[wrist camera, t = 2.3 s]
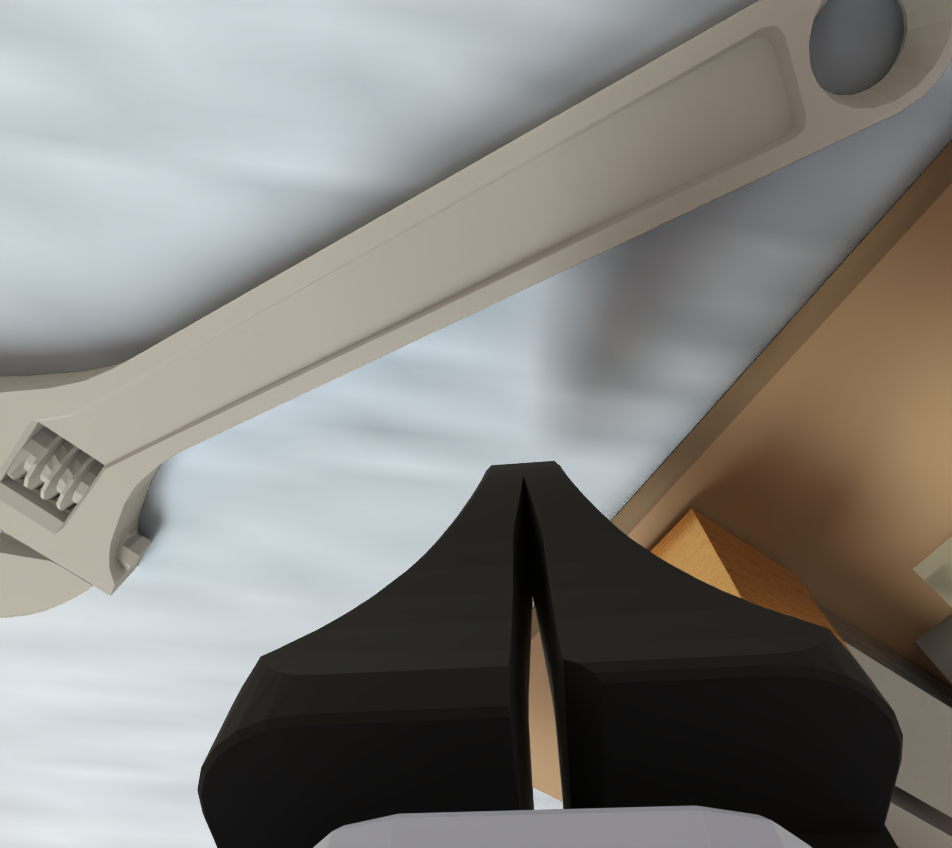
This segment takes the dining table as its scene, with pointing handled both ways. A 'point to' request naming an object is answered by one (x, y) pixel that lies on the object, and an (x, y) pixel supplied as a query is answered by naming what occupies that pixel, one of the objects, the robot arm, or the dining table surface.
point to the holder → (832, 461)
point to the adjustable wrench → (424, 276)
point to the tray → (938, 570)
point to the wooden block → (899, 681)
